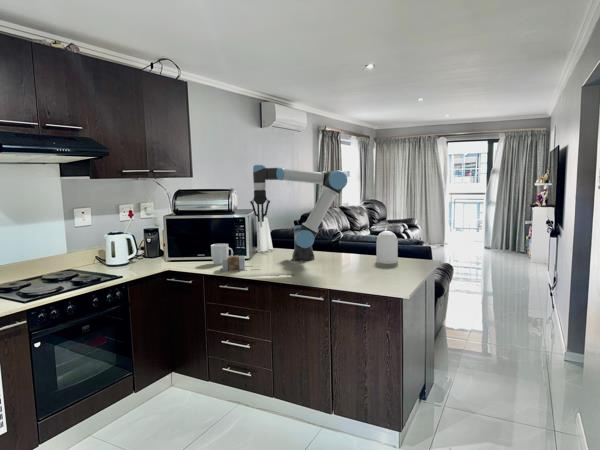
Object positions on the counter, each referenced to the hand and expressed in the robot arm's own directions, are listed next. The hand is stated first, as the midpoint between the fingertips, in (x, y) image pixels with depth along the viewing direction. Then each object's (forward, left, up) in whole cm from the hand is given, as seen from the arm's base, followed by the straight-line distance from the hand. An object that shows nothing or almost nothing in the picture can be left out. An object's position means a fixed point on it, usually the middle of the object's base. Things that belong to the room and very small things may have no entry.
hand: (261, 226), depth 262 cm
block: (+17, +15, -23) cm, 33 cm away
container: (-80, +7, -25) cm, 84 cm away
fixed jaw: (+22, +15, -23) cm, 35 cm away
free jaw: (+12, +15, -23) cm, 30 cm away
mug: (+26, -6, -25) cm, 36 cm away
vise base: (+13, +15, -24) cm, 31 cm away
